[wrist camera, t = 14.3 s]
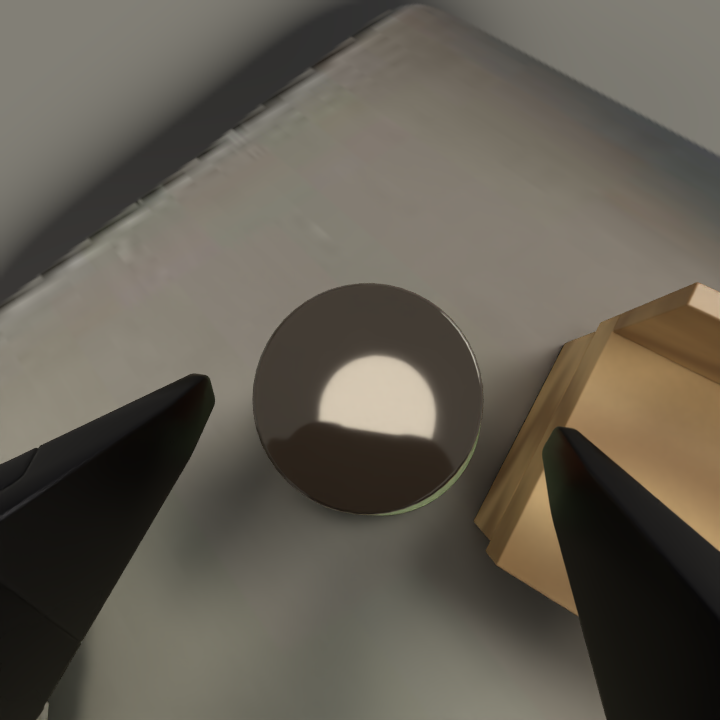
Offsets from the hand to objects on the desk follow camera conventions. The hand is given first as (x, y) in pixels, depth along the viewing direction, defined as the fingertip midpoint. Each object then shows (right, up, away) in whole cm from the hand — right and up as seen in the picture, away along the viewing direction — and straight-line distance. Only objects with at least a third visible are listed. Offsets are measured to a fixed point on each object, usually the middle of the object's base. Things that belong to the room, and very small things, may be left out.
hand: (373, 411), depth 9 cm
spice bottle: (0, -1, +6) cm, 6 cm away
